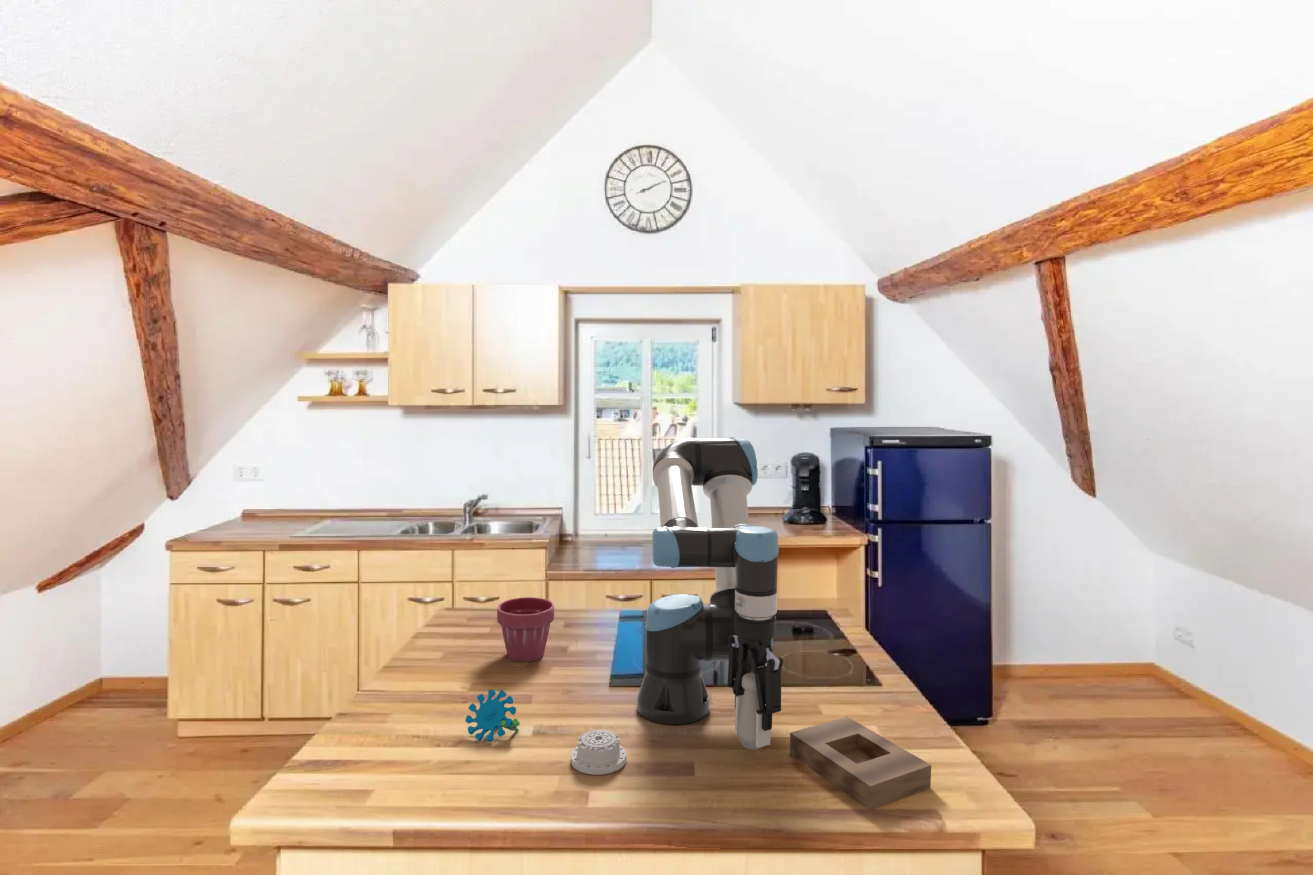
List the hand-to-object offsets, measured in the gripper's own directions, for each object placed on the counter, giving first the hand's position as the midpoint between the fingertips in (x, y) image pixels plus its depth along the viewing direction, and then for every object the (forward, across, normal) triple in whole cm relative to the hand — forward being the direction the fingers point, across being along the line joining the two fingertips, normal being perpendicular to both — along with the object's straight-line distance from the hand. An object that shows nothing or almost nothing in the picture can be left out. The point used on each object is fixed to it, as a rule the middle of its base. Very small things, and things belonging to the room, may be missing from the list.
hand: (752, 736), depth 130 cm
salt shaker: (+2, 0, 0) cm, 2 cm away
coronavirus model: (+4, -30, -40) cm, 50 cm away
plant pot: (+5, -66, -21) cm, 70 cm away
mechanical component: (+4, -12, -26) cm, 28 cm away
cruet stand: (+4, +12, +14) cm, 19 cm away
